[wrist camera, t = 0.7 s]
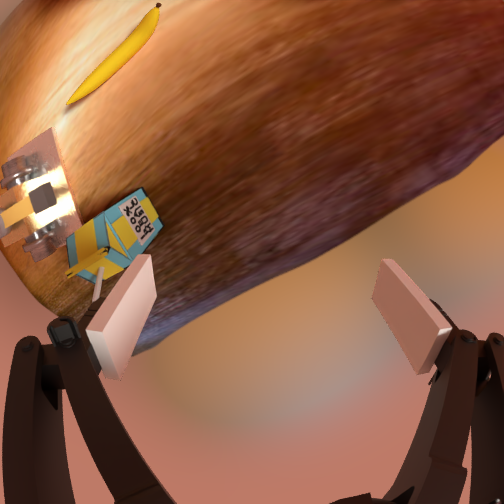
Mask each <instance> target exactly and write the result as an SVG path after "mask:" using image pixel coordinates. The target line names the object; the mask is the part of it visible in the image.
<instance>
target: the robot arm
mask: <svg viewBox="0 0 504 504" xmlns="http://www.w3.org/2000/svg"><path fill="white" fill-rule="evenodd" d="M156 297H157V295H156V289H155V283H154V276H153V269H152V261H151V255H147V254H138V255H137V256H136V258H135V259H134V260H133V262H132V263H131V264H130V266H129V267H128V268H127V270H126V271H125V273H124V274H123V275H122V277H121V278H120V279H119V281H118V282H117V284H116V285H115V286H114V288H113V289H112V291H111V292H110V294H109V295H108V297H107V298H103V297H100V298H98V299H97V300H96V301H94V302H93V303H92V304H91V306H90V307H89V308H88V311H86V313H85V314H84V316H83V317H82V318H81V320H80V321H79V323H78V324H76V321H75V320H74V319H73V318H72V317H69V316H62V317H58V318H56V319H54V320H53V321H52V322H50V323H49V325H48V327H47V333H48V335H49V337H50V339H51V341H52V344H47V345H41V343H40V341H39V339H38V338H37V337H35V336H27V337H24V338H22V339H21V340H20V341H19V342H18V343H17V344H16V347H15V351H14V355H13V360H12V365H11V370H10V376H9V382H8V388H7V395H6V403H5V412H4V423H3V443H2V463H3V464H2V466H3V486H4V497H5V504H75V499H74V495H73V490H72V485H71V480H70V474H69V468H68V462H67V454H66V447H65V437H64V425H63V409H62V389H66V392H67V395H68V398H69V401H70V404H71V406H72V410H73V412H74V415H75V418H76V420H77V423H78V425H79V428H80V430H81V433H82V435H83V438H84V440H85V442H86V444H87V447H88V449H89V451H90V453H91V456H92V458H93V460H94V462H95V464H96V466H97V468H98V470H99V472H100V474H101V476H102V477H103V479H104V481H105V483H106V485H107V486H108V488H109V490H110V492H111V494H112V495H113V497H114V500H115V502H114V504H177V503H176V502H175V501H174V500H173V498H172V497H171V496H170V494H169V493H168V492H167V491H166V489H165V488H164V487H163V485H162V484H161V483H160V481H159V480H158V479H157V477H156V476H155V475H154V473H153V472H152V470H151V469H150V467H149V466H148V464H147V463H146V461H145V460H144V458H143V457H142V455H141V454H140V452H139V451H138V449H137V447H136V446H135V444H134V442H133V441H132V439H131V438H130V436H129V434H128V432H127V431H126V429H125V427H124V425H123V424H122V422H121V420H120V418H119V417H118V415H117V413H116V411H115V409H114V407H113V406H112V403H111V401H110V399H109V397H108V395H107V393H106V391H105V389H104V387H103V385H102V383H101V381H100V379H99V376H98V375H99V373H100V371H101V369H102V371H103V374H104V375H105V378H109V379H114V380H120V381H121V379H122V376H123V374H124V371H125V369H126V366H127V364H128V361H129V359H130V357H131V354H132V352H133V349H134V347H135V345H136V342H137V340H138V337H139V335H140V333H141V331H142V328H143V326H144V324H145V321H146V319H147V317H148V315H149V312H150V310H151V308H152V306H153V304H154V301H155V299H156ZM372 300H373V302H374V303H375V305H376V306H377V308H378V309H379V311H380V313H381V314H382V316H383V318H384V319H385V321H386V323H387V324H388V326H389V327H390V329H391V331H392V332H393V334H394V336H395V337H396V339H397V341H398V342H399V344H400V346H401V348H402V349H403V351H404V353H405V355H406V356H407V358H408V360H409V362H410V363H411V365H412V367H413V369H414V371H415V372H416V374H417V375H419V374H424V373H428V372H429V371H430V370H431V368H432V366H433V364H434V363H435V365H436V366H437V370H436V372H435V374H434V375H433V377H432V378H431V380H430V382H429V385H430V384H431V382H432V385H431V388H430V392H429V395H428V399H427V402H426V405H425V408H424V411H423V414H422V417H421V420H420V423H419V426H418V429H417V431H416V434H415V436H414V439H413V442H412V444H411V447H410V449H409V451H408V454H407V456H406V458H405V461H404V463H403V465H402V467H401V469H400V472H399V474H398V476H397V478H396V480H395V482H394V484H393V486H392V487H391V488H390V490H389V491H388V492H387V493H386V495H385V496H384V497H383V499H377V498H371V494H370V493H366V494H362V495H358V496H353V497H349V498H344V499H340V500H337V501H335V502H332V503H330V504H458V502H459V500H460V497H461V493H462V490H463V487H464V484H465V481H466V477H467V468H464V467H462V462H463V458H464V454H465V450H466V445H467V441H468V436H469V430H470V426H471V440H472V469H471V487H470V501H469V504H504V337H503V336H502V335H501V334H498V333H491V334H489V336H488V338H487V340H486V341H483V340H478V339H477V337H476V336H475V335H474V334H473V333H472V332H470V331H467V330H459V329H458V328H457V326H456V325H455V324H454V323H453V321H452V320H451V319H450V318H449V317H448V316H447V314H446V313H445V312H444V311H443V310H442V308H441V307H440V306H439V305H438V304H437V303H436V302H434V301H433V300H431V299H428V298H427V297H426V295H425V294H424V293H423V292H422V291H421V290H420V288H419V287H418V286H417V285H416V284H415V283H414V282H413V281H412V280H411V278H409V276H408V275H407V274H406V273H405V272H404V271H403V270H402V269H401V268H400V267H399V265H398V264H396V262H395V261H394V260H393V259H381V264H380V268H379V272H378V276H377V280H376V284H375V288H374V292H373V295H372ZM490 374H491V378H490V379H489V376H490Z"/></svg>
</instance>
